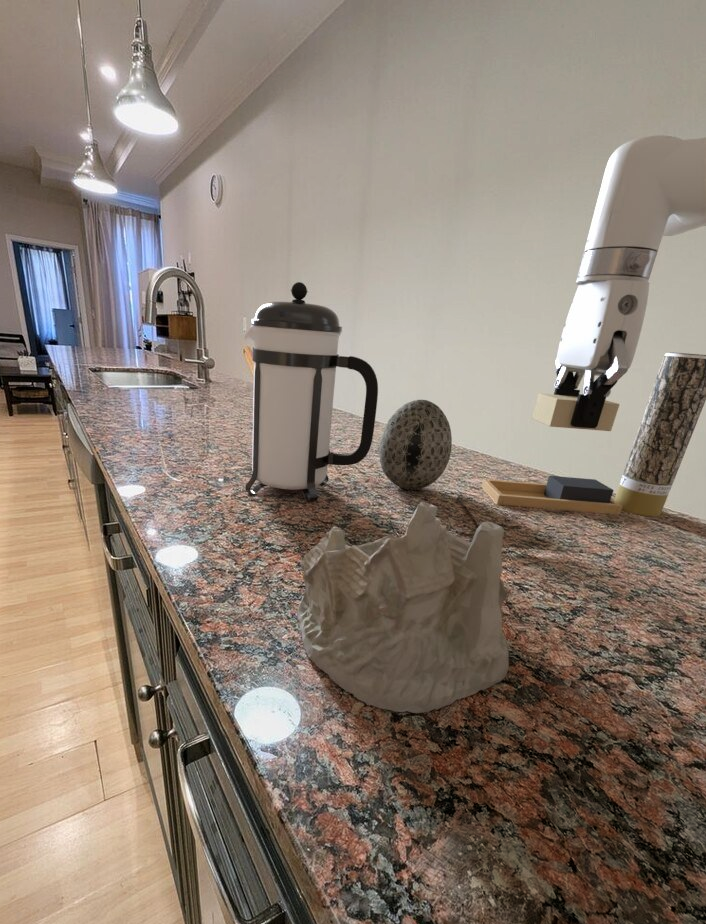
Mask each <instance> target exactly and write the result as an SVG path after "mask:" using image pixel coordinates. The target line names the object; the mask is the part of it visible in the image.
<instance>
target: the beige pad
mask: <svg viewBox="0 0 706 924" xmlns="http://www.w3.org/2000/svg"><path fill="white" fill-rule="evenodd" d="M536 399H537V400H536V402H535V406H534V410H533V415H532V420H535V421H536V422H539V423H541V424H543V425H545V426H548V427H550V428H551V427H552V428H564V429H578V430H589V431H600V432H601V431H603V432H612V430H613V426H614V424H615V420H616V417H617V413H618V411H619V408H620V406H621V405H620V403H617V402H614V401H609V400H607V399H606V400H605V403H604V406H603V409H602V413H601V416H600V419H599V422H598V426H597V427H596V428H583V427H574V426H571V420H572V416H573V413H574V409H575V406H576V402H577V399H578V397H577V396H565V395H554V394H551V393H538V395H537V398H536Z"/></svg>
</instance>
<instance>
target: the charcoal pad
mask: <svg viewBox="0 0 706 924" xmlns="http://www.w3.org/2000/svg"><path fill="white" fill-rule="evenodd" d="M546 484H547V485H546V488H545V492H544V495H545V496H546V497H547V498H552V499H564V500H576V501H588V502H600V503H609V502H610V500H611V499H612V497H613V493H614V492H615V491H614V489H613V488H611V487H610V486H608V485H606V484H604V483H602V482H601V481H599V480H597V479H596V478H595V479H594V478H581V477H569V476H559V475H548V478H547V482H546Z"/></svg>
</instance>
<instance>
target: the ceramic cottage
mask: <svg viewBox="0 0 706 924" xmlns="http://www.w3.org/2000/svg"><path fill="white" fill-rule="evenodd" d="M437 511H438V507H437V506H436V505H434V504H432V503H427V502H424V501H420V502H419V504H418V505H417V506H416V509H415V510H414V511H413V514H412V516H411V518H410V520H409V522H408V524H407V527H406V530H405V533H404V535H402V536H401V537H395V536H394V535H393V534H392V533H389V534H388V535H385V536H383V537H381V538H379V539H376V540H375V541H369V542H367V543H363V544H358V545H355V544H352V545H351V546H350V545H348V544H346V540H345V539H346V538H345V536H346V532H344V531H343V530H342V529H341V528H340V527H339V526H333V527H332V528H331V529H330V530H329V531H327V532H325V535H324V536H323V537H321V538H320V540H319V542H318V543H316V545H314V546H313V547H312V548H310V549H309V551H308V552H307V553H306V554H305V555H304V556H303V557H302V559H301V560H300V563H299V566H300V568H301V569H302V571H303V579H304V594H303V596H302V597H301V600H300V602H299V604H298V608H297V616H296V617H297V620H298V624H299V625H298V628H299V631H300V632H301V642H302V647H303V649H304V650H305V653H306V655H307V657H308V658H309V660H311V662H312V663H314V665H315V666H316V667H318V670H321V671H322V672H324V673H325V674H327V675H328V677H329V679H330V681H333V682H334V684H336V685H338V686H339V687H340V688H341V689H342V690H344V691H345V692H346V693H349V694H352V695H353V698H356V699H357V700H359V701H361V702H363V703H365V705H366V706H372V707H375V708H378V709H381V710H387V711H392V712H395V713H396V712H398V713H404V712H409V713H412V714H423V713H429V712H431V711H433V710H437V711H438V710H439V709H441V708H443V707H444V706H450V705H452V704H453V703H454V702H455V701H457V700H461V699H465V698H468V697H470V696H472V695H475V694H477V693H478V692H479V691H484V690H486V689H489V688H491V687H494V685H496V684H498V683H501V682H502V681H503V680H504V679H505V678H506V677H507V673H508V671H509V670H510V662H509V661H510V660H509V655H510V652H509V647H508V642H507V641H508V640H507V637H506V635H505V634H504V633H505V632H503V630H502V629H503V616H504V615H505V614H504V611H503V609H502V608H503V603H504V602H505V601H506V600H507V599H508V598H509V597H511V594H510V593H508V590H507V588H505V585H504V581H503V580H502V579H501V577H502V573H503V558H502V556H503V555H502V553H503V552H502V551H503V545H504V543H503V541H504V535H505V529H504V528H503V526H500V525H499V524H496V523H494V522H492V521H483V522H482V523H480V525H479V526H478V527H477V528H476V530H475V532H474V534H473V536H472V539H471V541H468V540H465V539H464V538H462V537H460V536H457V535H455V534H454V533H452V532H451V531H448V530H447V527H446V525H441V524H442V520H440V519H439V518H438V517H436V516H437Z"/></svg>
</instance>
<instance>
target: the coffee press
mask: <svg viewBox="0 0 706 924" xmlns="http://www.w3.org/2000/svg"><path fill="white" fill-rule="evenodd" d="M290 292H291V296H292V297H293V299H292V300H291V301H270V302H267V303H264V304H262V305H261V306H260V307H259V308H258V309H257V310H256V313H255V316H254V318H252V319H251V325H250V327H248V329H247V331H246V333H245V334H244V338H243V339H244V340H245V341H252V342H253V344H254V346H253V347H252V355H251V356H252V362H253V389H252V390H253V393H252V394H253V395H252V445H251V447H252V448H251V449H252V451H251V452H252V454H251V457H252V458H251V471H252V473H251V474H252V475H251V476H250V479H248V482H247V483H246V484H245V491H246V492H248V493H249V494H250V495H256V494H257V493H258V492H259V491H260V490H261V489H263V488H264V487H270V488H274V489H280V490H291V491H292V490H293V491H295V490H297V491H298V490H300V491H301V492H302V494H303V497H304V499H305V501H306V502H307V503H312V502H313V503H314V502H317V501H318V500H319V494H318V491H317V487H319V486H320V485H321V484H323V485H326V484H328V482H329V476H328V466H352V465H356V464H358V463H360V462H361V461H363V460H364V459H365V457H367V455H368V453H369V452H370V450H371V447H372V442H373V438H374V431H375V424H376V415H377V407H378V396H379V382H378V378H377V375H376V372H375V370H374V369H373V367H372V366H371V364H369V362H367V361H365V360H364V359H362V358H360V357H357V356H354V355H349V356H342V355H339V354H338V349H339V348H338V347H339V339H340V336H341V334H342V333H343V326H340V320H339V319H340V318H339V316H338V315H337V314H336V312H335V311H334V310H332V309H331V308H329V307H327V306H323V305H320V304H315V303H307V302H306V301H305V300H304V299H305V298H306V296H307V295H308V288H307V286H306V285H305V283H303V282H300V281H297V282H295V283H294V284H292V286H291V289H290ZM337 368H342V369H343V368H344V369H345V368H346V369H347V370H353V371H356V372H358V373H359V374H360V375H361V376H362V378H363V380H364V384H365V400H364V408H363V409H364V410H363V419H362V426H361V434H360V435H361V436H360V443H359V446H358V447H357V448H356V449H355V451H353V452H351V453H334V452H331V450H330V442H331V430H332V418H333V407H334V394H335V383H336V370H337ZM256 481H258V482H259V483H257V484H256V485H255V486H254V487H253V485H254V484H255V482H256ZM252 487H253V488H252Z"/></svg>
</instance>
